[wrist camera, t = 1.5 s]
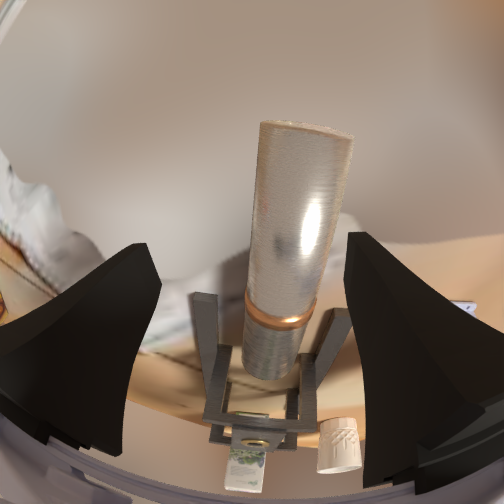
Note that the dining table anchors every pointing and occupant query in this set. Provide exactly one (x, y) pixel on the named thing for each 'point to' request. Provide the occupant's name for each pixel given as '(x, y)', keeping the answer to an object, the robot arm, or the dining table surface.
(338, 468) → the white cup
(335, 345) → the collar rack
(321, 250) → the steel tube
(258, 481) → the syrup box
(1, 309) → the candy box
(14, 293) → the dining table surface
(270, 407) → the dining table surface
